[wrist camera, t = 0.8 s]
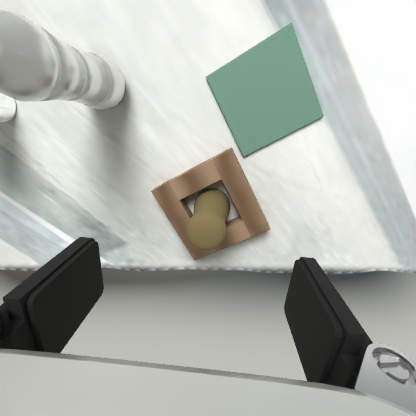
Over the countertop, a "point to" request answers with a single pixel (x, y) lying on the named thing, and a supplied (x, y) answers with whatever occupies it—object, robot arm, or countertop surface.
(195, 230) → the cork
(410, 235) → the countertop surface
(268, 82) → the mat
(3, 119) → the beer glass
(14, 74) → the plastic bottle
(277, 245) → the countertop surface
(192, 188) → the socket
